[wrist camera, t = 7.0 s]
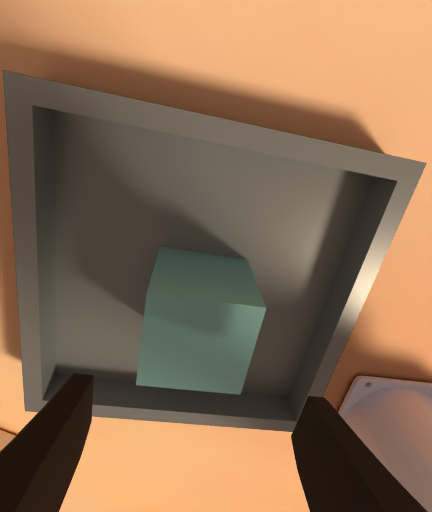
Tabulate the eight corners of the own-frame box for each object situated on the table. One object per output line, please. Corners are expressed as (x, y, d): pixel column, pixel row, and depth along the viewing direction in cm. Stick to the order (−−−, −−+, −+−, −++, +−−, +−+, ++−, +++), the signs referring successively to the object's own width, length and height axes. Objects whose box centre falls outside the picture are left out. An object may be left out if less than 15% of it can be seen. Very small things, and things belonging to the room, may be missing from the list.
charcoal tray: (387, 157, 16) (426, 163, 14) (292, 396, 23) (306, 432, 21) (40, 81, 14) (3, 70, 11) (47, 373, 21) (25, 411, 18)
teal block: (247, 259, 17) (266, 308, 13) (229, 330, 19) (240, 394, 15) (160, 246, 17) (147, 291, 12) (150, 321, 19) (135, 384, 14)
